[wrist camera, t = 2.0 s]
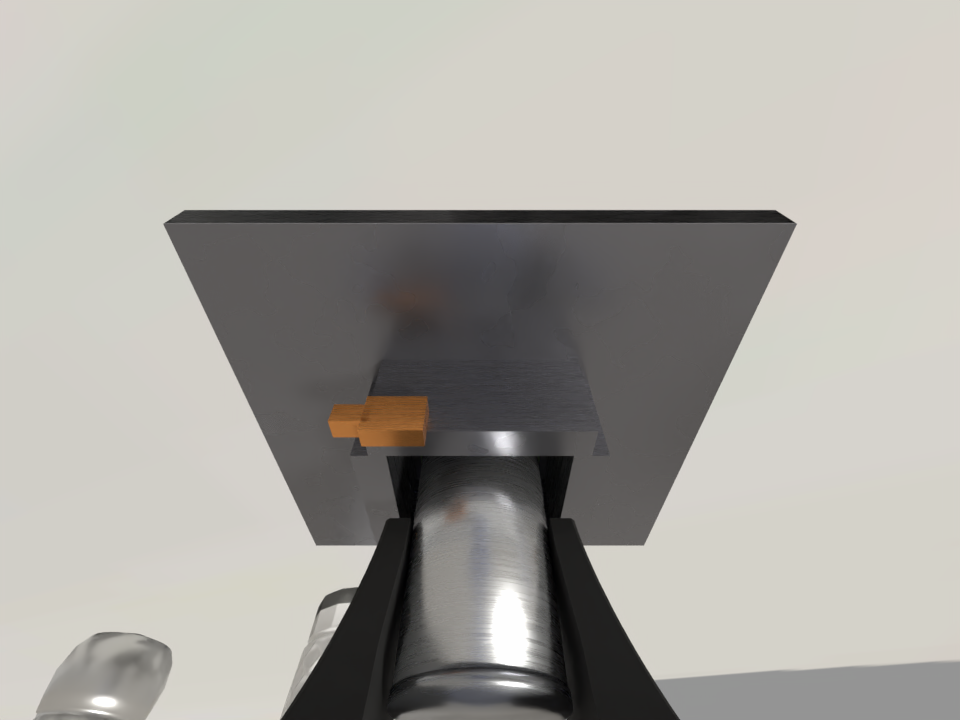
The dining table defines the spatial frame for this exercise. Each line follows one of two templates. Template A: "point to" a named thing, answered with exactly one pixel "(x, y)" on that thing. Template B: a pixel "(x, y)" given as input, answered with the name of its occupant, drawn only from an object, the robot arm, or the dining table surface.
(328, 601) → the white cup
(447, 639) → the silver metal canister
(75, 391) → the dining table surface
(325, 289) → the stand base
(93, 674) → the plastic bottle
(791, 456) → the dining table surface
